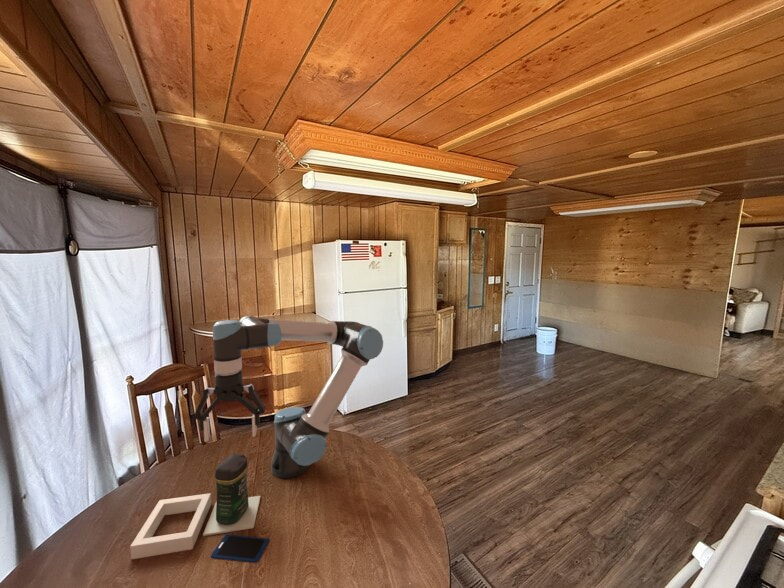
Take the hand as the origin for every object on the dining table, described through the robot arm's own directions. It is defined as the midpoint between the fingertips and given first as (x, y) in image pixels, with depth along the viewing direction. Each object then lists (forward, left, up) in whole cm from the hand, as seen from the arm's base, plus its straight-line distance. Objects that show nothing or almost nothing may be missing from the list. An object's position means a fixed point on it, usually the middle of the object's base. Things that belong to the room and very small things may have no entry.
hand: (231, 436), depth 101 cm
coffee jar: (0, 0, -26) cm, 26 cm away
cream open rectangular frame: (+16, +2, -27) cm, 31 cm away
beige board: (0, 0, -27) cm, 27 cm away
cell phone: (-5, +13, -27) cm, 31 cm away
